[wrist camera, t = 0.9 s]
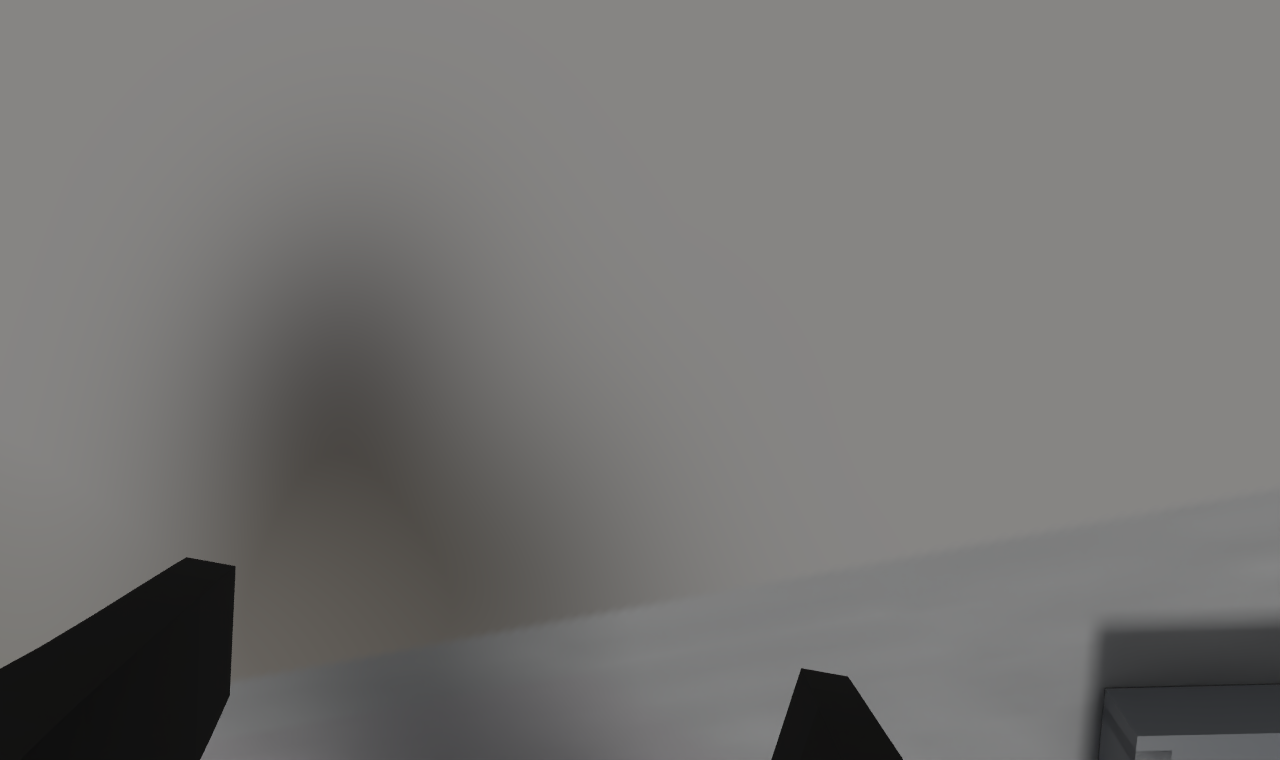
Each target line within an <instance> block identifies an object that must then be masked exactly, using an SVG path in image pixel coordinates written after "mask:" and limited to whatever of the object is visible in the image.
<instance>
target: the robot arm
mask: <svg viewBox="0 0 1280 760" xmlns="http://www.w3.org/2000/svg"><path fill="white" fill-rule="evenodd" d="M234 588H235V566H231V565H226V564H220V563H215V562H209V561H203V560H198V559H193V558H187V557H186V558H185V559H183V560H181V561H180V562H178V563H176V564H174V565H173V566H171V567H170V568H168V569H166V570H165V571H163V572H161V573H160V574H158V575H157V576H155V577H153V578H152V579H150V580H149V581H147V582H145V583H144V584H142V585H140V586H139V587H137V588H136V589H134V590H132V591H131V592H129V593H128V594H126V595H125V596H123V597H121V598H120V599H118V600H117V601H115V602H113V603H112V604H110V605H109V606H107V607H105V608H104V609H102V610H101V611H99V612H97V613H96V614H94V615H92V616H91V617H89V618H88V619H86V620H84V621H83V622H81V623H79V624H78V625H76V626H74V627H73V628H71V629H69V630H67V631H66V632H64V633H62V634H61V635H59V636H57V637H56V638H54V639H53V640H51V641H50V642H47V643H46V644H44V645H42V646H41V647H39V648H37V649H35V650H34V651H32V652H30V653H28V654H26V655H25V656H23V657H21V658H19V659H17V660H15V661H13V662H12V663H10V664H8V665H6V666H4V667H3V668H1V669H0V760H200V759H201V757H202V755H203V753H204V751H205V748H206V746H207V744H208V742H209V740H210V738H211V736H212V734H213V731H214V729H215V727H216V725H217V722H218V720H219V718H220V716H221V714H222V711H223V709H224V707H225V705H226V702H227V700H228V698H229V696H230V677H231V654H232V631H233V610H234ZM772 760H903V759H902V757H901V756H900V754H899V753H898V751H897V750H896V748H895V747H894V745H893V744H892V742H891V741H890V739H889V738H888V736H887V735H886V733H885V732H884V730H883V729H882V727H881V726H880V724H879V723H878V721H877V720H876V718H875V717H874V715H873V714H872V712H871V711H870V709H869V708H868V706H867V704H866V703H865V701H864V700H863V698H862V697H861V695H860V694H859V692H858V691H857V689H856V688H855V686H854V685H853V683H852V682H851V680H850V679H849V678H848V677H847V676H841V675H836V674H830V673H825V672H819V671H814V670H808V669H802V668H801V671H800V674H799V677H798V680H797V683H796V686H795V689H794V692H793V695H792V699H791V702H790V705H789V708H788V711H787V714H786V717H785V720H784V723H783V726H782V729H781V732H780V735H779V738H778V741H777V745H776V748H775V751H774V754H773V757H772Z"/></svg>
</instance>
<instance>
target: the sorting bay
mask: <svg viewBox="0 0 1280 760" xmlns="http://www.w3.org/2000/svg"><path fill="white" fill-rule="evenodd" d="M1098 760H1280V684H1273V685H1232V686H1190V687H1149V688H1108V689H1105V697H1104V707H1103V717H1102V727H1101V737H1100V748H1099V758H1098Z"/></svg>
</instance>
